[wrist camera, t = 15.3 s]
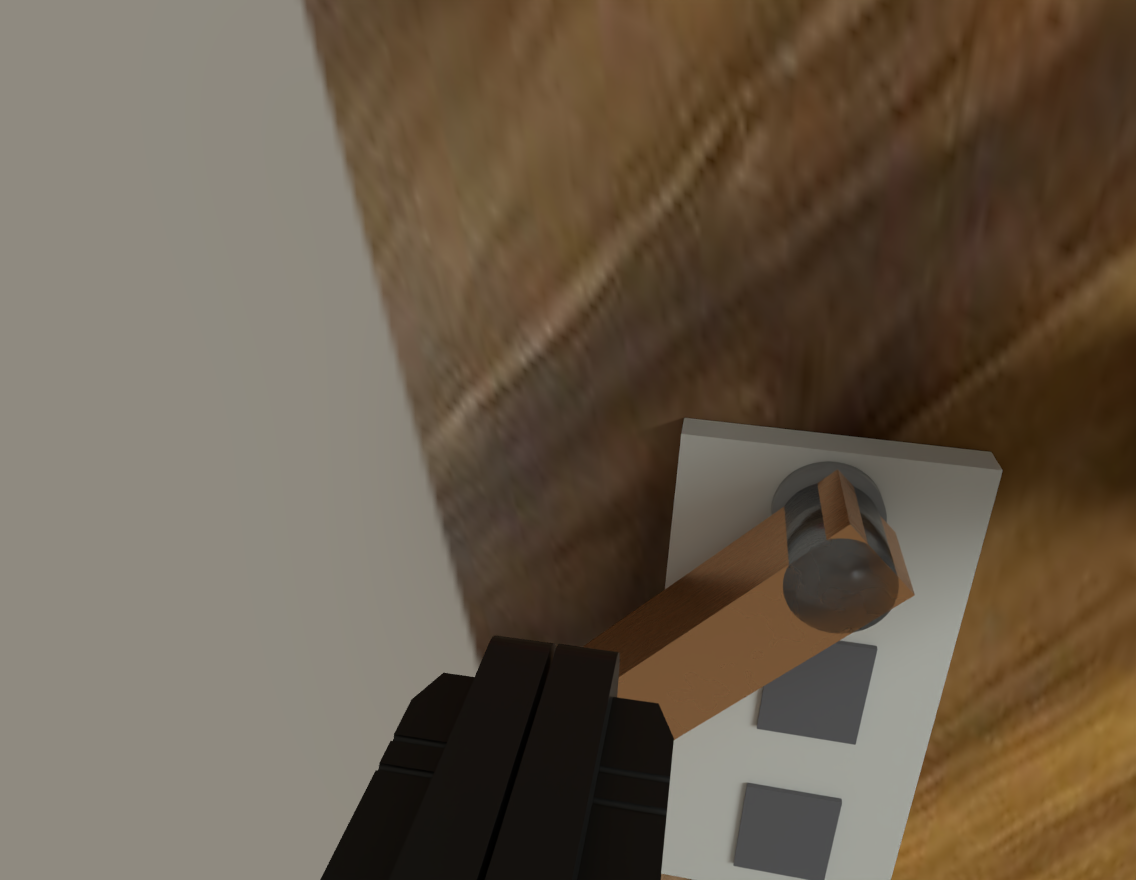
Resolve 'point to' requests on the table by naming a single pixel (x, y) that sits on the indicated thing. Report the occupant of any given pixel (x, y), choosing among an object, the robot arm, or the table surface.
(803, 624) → the swing arm
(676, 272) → the table surface
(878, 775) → the label board
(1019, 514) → the table surface
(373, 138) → the table surface
